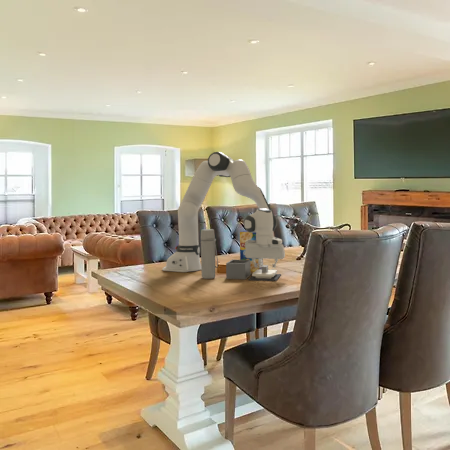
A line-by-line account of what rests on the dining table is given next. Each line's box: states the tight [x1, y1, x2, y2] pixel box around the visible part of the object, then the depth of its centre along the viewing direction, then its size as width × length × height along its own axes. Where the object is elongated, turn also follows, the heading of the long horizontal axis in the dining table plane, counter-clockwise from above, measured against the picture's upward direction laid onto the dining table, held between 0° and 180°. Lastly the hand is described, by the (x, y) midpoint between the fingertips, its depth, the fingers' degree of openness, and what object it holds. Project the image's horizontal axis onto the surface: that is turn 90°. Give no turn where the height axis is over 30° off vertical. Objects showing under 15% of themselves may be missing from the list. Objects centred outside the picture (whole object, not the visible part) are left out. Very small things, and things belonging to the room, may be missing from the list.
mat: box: [247, 273, 282, 282], centre depth 241 cm, size 14×16×1 cm
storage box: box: [225, 259, 252, 280], centre depth 245 cm, size 10×12×8 cm
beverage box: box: [239, 230, 264, 273], centre depth 261 cm, size 7×11×22 cm, turn 64°
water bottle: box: [200, 228, 219, 280], centre depth 243 cm, size 9×8×25 cm
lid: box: [251, 264, 278, 279], centre depth 241 cm, size 11×13×5 cm
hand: (265, 267), depth 241 cm, fingers open, 8 cm apart
